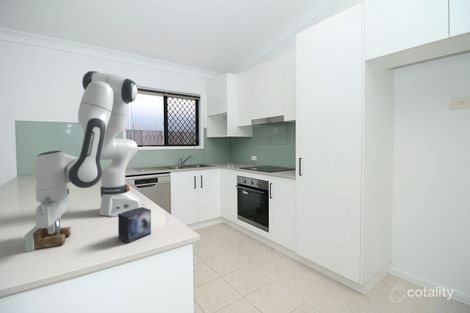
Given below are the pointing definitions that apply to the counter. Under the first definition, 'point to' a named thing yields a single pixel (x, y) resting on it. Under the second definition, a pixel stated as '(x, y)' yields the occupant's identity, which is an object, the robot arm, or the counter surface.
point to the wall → (30, 240)
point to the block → (50, 237)
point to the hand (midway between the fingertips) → (54, 231)
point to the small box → (134, 224)
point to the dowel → (57, 227)
